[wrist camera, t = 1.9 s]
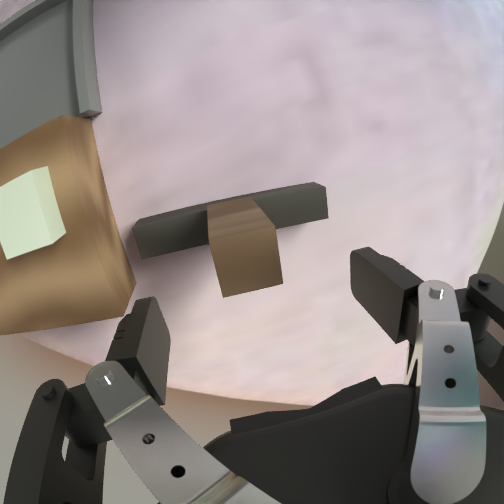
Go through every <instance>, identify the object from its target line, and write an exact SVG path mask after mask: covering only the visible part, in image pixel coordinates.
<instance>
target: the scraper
mask: <svg viewBox="0 0 504 504" xmlns="http://www.w3.org/2000/svg"><path fill="white" fill-rule="evenodd" d="M327 218H328V208H327V197H326V187H324V186H322V185H320V184H317V183H315V182H311V183H305V184H299V185H294V186H288V187H282V188H277V189H271V190H266V191H261V192H256V193H251V194H246V195H241V196H236V197H231V198H227V199H222V200H217V201H213V202H208V203H204V204H199V205H195V206H191V207H186V208H182V209H178V210H174V211H170V212H166V213H162V214H158V215H154V216H150V217H146V218H142V219H139V220H138V222H137V223H136V224H135V225H134V227H133V228H132V229H133V232H134V235H135V239H136V242H137V245H138V248H139V251H140V254H141V257H142V259H145V258H149V257H153V256H158V255H162V254H166V253H170V252H175V251H179V250H184V249H188V248H192V247H197V246H201V245H206V244H210V248H211V252H212V256H213V260H214V264H215V268H216V272H217V276H218V280H219V284H220V288H221V292H222V295H223V298H224V297H228V296H233V295H237V294H242V293H246V292H251V291H255V290H259V289H263V288H268V287H272V286H276V285H280V284H283V279H282V271H281V264H280V257H279V250H278V243H277V236H276V229H279V228H283V227H288V226H293V225H298V224H302V223H307V222H312V221H317V220H322V219H327Z"/></svg>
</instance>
